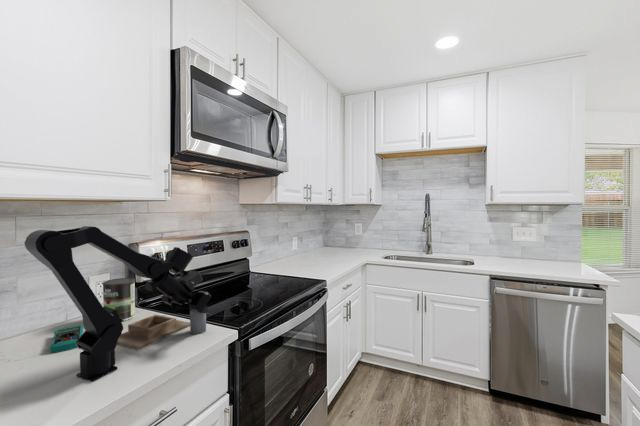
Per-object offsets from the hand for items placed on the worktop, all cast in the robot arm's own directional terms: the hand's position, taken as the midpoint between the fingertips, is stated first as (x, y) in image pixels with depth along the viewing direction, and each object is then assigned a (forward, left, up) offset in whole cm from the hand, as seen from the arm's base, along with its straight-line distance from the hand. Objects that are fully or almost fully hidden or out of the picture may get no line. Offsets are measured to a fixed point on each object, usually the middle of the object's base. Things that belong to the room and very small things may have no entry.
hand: (201, 310), depth 106 cm
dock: (-8, +13, -7) cm, 17 cm away
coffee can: (-3, +37, -7) cm, 38 cm away
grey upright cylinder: (-1, 0, -7) cm, 7 cm away
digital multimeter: (-23, +32, -7) cm, 41 cm away
